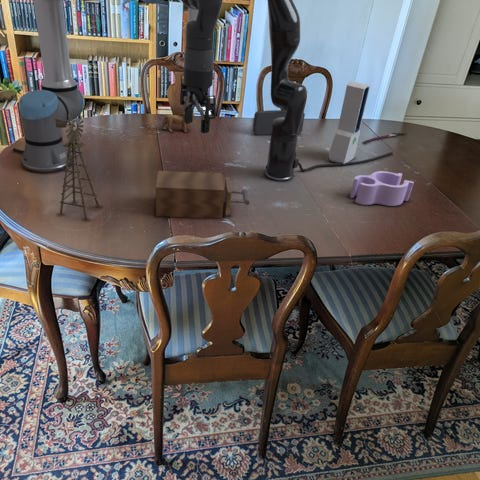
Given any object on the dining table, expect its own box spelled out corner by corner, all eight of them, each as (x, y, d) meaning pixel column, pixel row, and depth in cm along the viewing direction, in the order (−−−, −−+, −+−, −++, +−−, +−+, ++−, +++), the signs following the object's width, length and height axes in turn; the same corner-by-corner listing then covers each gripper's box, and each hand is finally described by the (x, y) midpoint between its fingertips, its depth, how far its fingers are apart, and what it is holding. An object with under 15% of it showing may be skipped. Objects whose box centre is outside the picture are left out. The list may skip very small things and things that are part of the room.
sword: (401, 132, 223) (402, 129, 222) (407, 134, 221) (407, 131, 220) (358, 143, 207) (358, 140, 206) (363, 145, 205) (364, 143, 204)
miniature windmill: (85, 220, 131) (75, 116, 115) (58, 214, 132) (43, 110, 116) (100, 205, 139) (92, 105, 123) (74, 200, 140) (62, 101, 124)
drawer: (245, 200, 149) (247, 178, 145) (248, 215, 141) (251, 193, 137) (168, 197, 146) (168, 174, 142) (167, 213, 138) (167, 189, 133)
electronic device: (344, 166, 181) (362, 88, 165) (326, 160, 185) (342, 83, 168) (355, 157, 191) (373, 82, 174) (338, 152, 194) (354, 78, 177)
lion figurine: (191, 127, 202) (192, 107, 197) (195, 131, 198) (195, 111, 193) (158, 128, 197) (158, 107, 192) (160, 133, 193) (160, 111, 188)
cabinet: (220, 200, 149) (222, 173, 144) (222, 218, 140) (224, 190, 134) (158, 198, 146) (157, 170, 141) (155, 216, 137) (155, 187, 132)
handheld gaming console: (299, 131, 211) (303, 109, 205) (302, 133, 208) (305, 111, 203) (251, 133, 203) (254, 110, 198) (254, 135, 201) (256, 112, 196)
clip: (362, 208, 153) (367, 189, 149) (343, 191, 163) (348, 173, 159) (412, 204, 159) (418, 185, 156) (392, 187, 169) (397, 170, 165)
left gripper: (206, 32, 130) (202, 107, 141) (218, 20, 150) (214, 86, 162) (179, 29, 130) (178, 104, 141) (195, 17, 151) (192, 84, 162)
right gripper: (226, 72, 116) (222, 134, 125) (196, 58, 126) (194, 117, 134) (200, 74, 112) (198, 138, 121) (172, 60, 122) (171, 120, 130)
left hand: (197, 95), depth 152 cm, fingers open, 13 cm apart
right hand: (196, 127), depth 128 cm, fingers open, 8 cm apart
